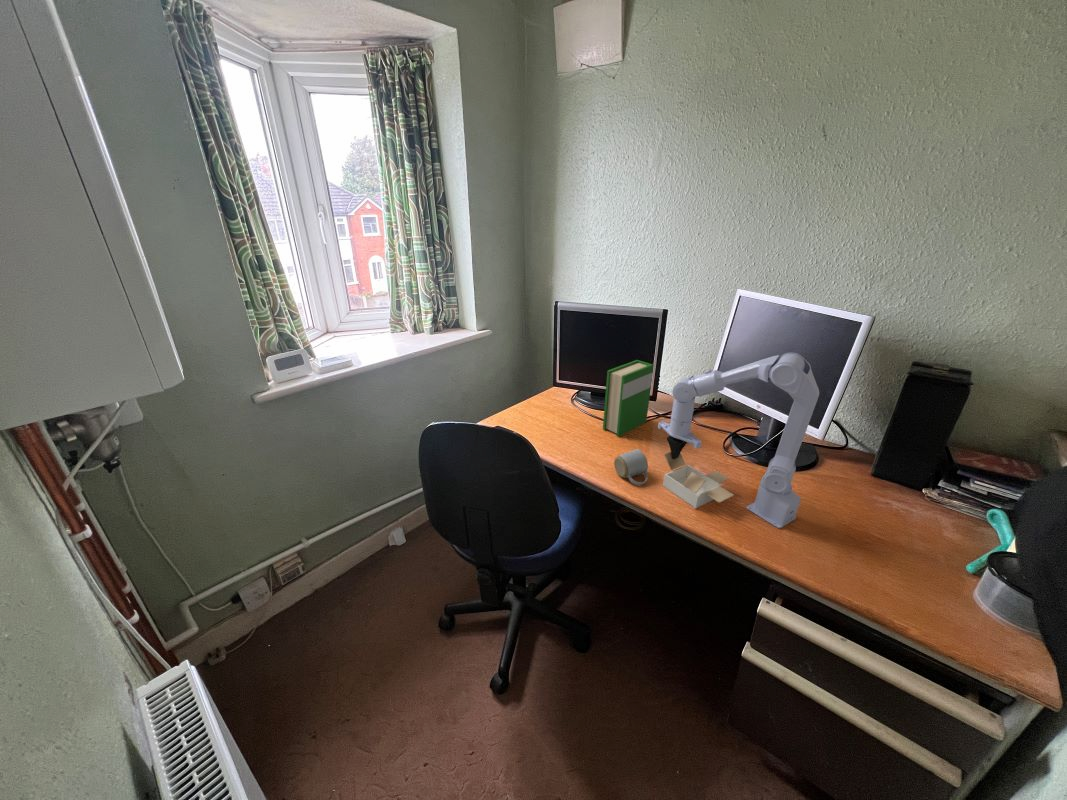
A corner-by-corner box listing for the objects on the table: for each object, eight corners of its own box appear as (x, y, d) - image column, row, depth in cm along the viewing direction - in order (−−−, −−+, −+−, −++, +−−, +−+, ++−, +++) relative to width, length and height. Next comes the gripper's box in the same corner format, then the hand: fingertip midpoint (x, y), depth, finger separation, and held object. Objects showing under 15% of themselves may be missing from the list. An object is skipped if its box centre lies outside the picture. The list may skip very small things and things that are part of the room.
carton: (743, 500, 115) (746, 488, 113) (709, 518, 108) (712, 505, 106) (695, 471, 128) (698, 460, 126) (662, 486, 121) (664, 474, 119)
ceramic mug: (611, 470, 128) (613, 450, 125) (632, 464, 131) (634, 444, 128) (632, 490, 120) (635, 468, 116) (653, 482, 123) (657, 461, 119)
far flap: (678, 449, 124) (677, 449, 125) (664, 454, 122) (663, 454, 122) (685, 464, 123) (685, 464, 123) (671, 469, 120) (671, 470, 121)
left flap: (705, 480, 111) (705, 480, 110) (695, 493, 111) (695, 493, 110) (692, 472, 114) (691, 471, 114) (682, 484, 114) (682, 484, 114)
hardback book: (618, 437, 148) (624, 376, 138) (602, 429, 153) (607, 370, 143) (646, 422, 158) (653, 364, 148) (630, 415, 163) (637, 359, 153)
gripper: (711, 424, 113) (703, 465, 119) (671, 406, 124) (666, 443, 130) (694, 431, 110) (687, 472, 115) (655, 411, 121) (650, 449, 127)
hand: (674, 457), depth 122 cm, fingers closed, pressing on far flap
